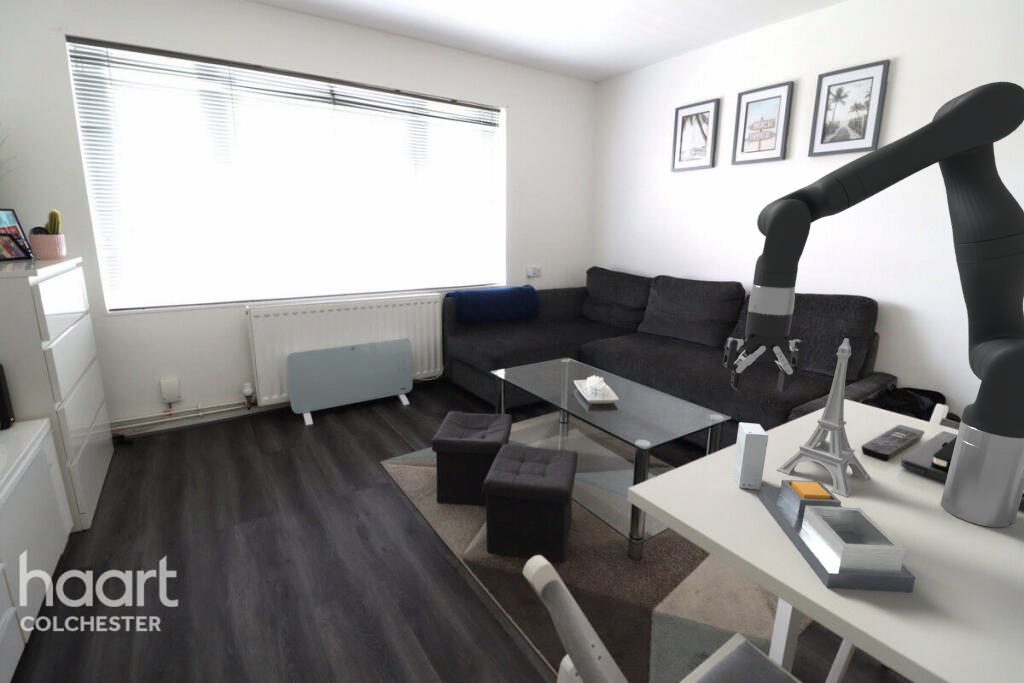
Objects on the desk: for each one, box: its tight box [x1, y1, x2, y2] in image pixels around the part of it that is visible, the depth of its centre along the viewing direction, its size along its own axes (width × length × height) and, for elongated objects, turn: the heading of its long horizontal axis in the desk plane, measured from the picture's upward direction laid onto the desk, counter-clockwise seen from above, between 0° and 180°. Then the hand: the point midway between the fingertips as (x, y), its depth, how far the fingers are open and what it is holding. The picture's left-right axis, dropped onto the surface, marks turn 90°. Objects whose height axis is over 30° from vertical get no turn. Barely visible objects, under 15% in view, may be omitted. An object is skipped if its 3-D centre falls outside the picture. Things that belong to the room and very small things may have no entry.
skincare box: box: [732, 421, 769, 491], centre depth 99 cm, size 6×4×12 cm
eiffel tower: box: [776, 338, 871, 498], centre depth 100 cm, size 13×13×30 cm
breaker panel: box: [757, 479, 917, 593], centre depth 82 cm, size 12×24×6 cm, turn 176°
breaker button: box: [791, 481, 830, 500], centre depth 87 cm, size 4×4×3 cm
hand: (758, 390), depth 95 cm, fingers open, 8 cm apart
